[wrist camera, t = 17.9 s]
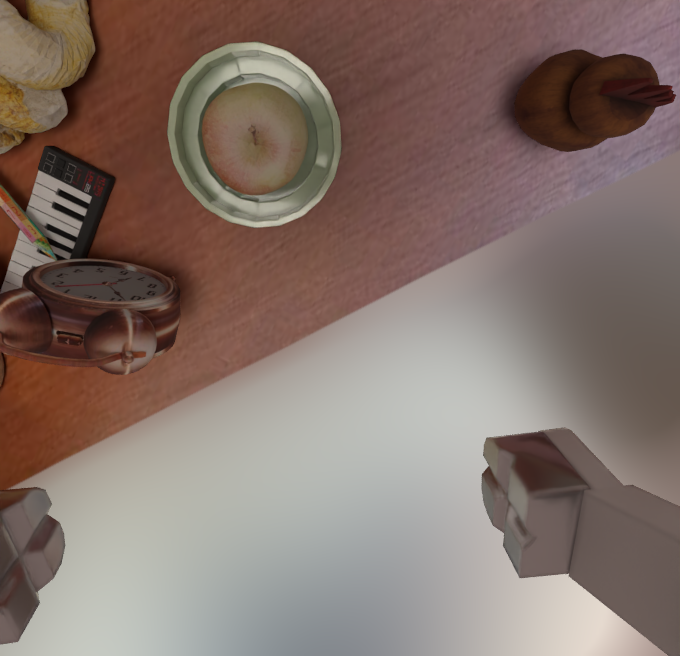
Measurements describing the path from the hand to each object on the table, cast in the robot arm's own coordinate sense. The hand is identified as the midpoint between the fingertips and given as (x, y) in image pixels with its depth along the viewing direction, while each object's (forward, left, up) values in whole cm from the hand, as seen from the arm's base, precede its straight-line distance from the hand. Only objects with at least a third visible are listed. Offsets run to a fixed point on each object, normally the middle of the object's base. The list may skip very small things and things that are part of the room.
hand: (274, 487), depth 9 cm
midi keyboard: (+23, 0, -32) cm, 40 cm away
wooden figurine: (-21, -7, -33) cm, 40 cm away
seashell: (+18, -13, -33) cm, 40 cm away
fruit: (+2, -6, -33) cm, 33 cm away
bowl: (+2, -6, -33) cm, 34 cm away
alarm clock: (+15, +5, -33) cm, 37 cm away
